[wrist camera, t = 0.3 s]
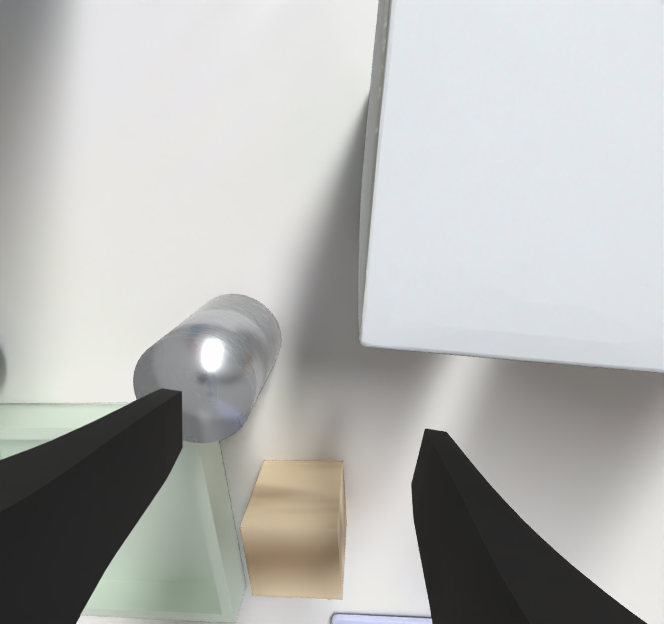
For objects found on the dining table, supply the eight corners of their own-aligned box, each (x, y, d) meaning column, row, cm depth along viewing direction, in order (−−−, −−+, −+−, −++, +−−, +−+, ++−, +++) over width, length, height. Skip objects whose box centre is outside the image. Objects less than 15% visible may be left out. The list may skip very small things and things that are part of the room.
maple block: (346, 521, 25) (342, 599, 20) (273, 519, 26) (252, 595, 21) (342, 459, 24) (337, 529, 19) (264, 459, 24) (240, 526, 19)
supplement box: (355, 245, 19) (340, 353, 7) (372, 76, 17) (389, -186, 5) (504, 258, 19) (751, 395, 7) (544, 87, 16) (1039, -168, 4)
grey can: (285, 375, 22) (258, 443, 16) (202, 376, 22) (147, 443, 17) (276, 292, 20) (242, 335, 15) (186, 295, 21) (120, 338, 15)
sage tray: (246, 585, 28) (235, 623, 25) (50, 577, 29) (23, 612, 27) (211, 402, 23) (194, 427, 20) (-23, 403, 24) (-64, 427, 22)
